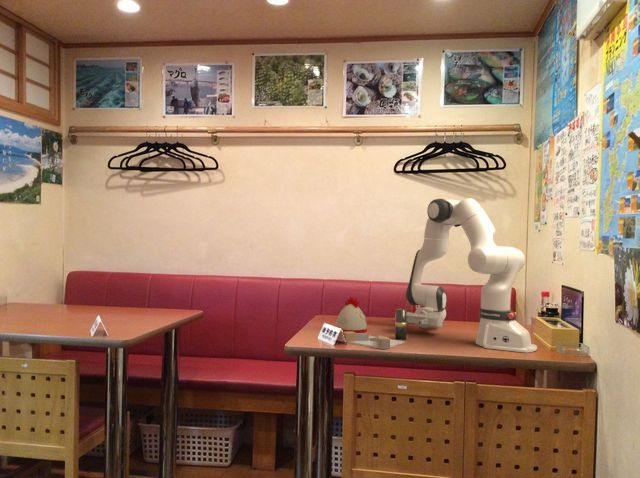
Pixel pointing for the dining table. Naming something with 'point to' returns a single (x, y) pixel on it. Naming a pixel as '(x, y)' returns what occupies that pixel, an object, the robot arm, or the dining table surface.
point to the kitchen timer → (352, 317)
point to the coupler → (400, 324)
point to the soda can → (411, 308)
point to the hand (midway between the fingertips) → (409, 320)
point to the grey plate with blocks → (370, 340)
